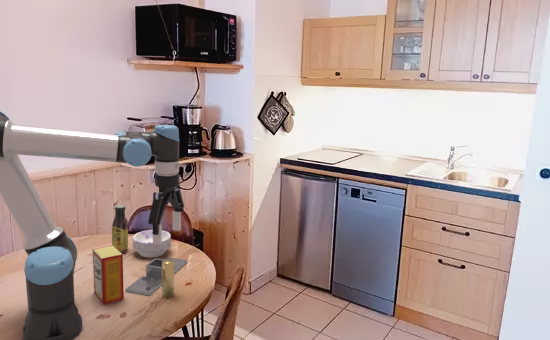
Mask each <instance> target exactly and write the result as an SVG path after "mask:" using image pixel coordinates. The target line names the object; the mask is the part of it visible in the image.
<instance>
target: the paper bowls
mask: <svg viewBox="0 0 550 340" xmlns="http://www.w3.org/2000/svg"><path fill="white" fill-rule="evenodd" d="M171 237H172V236H171V233H170V232H169V231H166V230H162V244H161V245H160V244H153V229H148V230H142V231H140V232H136V233H135V234H134V235H133V236H132V250H133V251H135V252H137V253H138V254H139V255H140V256H141V257H144V258H147V259H148V258H152V259H154V258H158V257H161V256H163V255H164V254H165V253H166V251H168V250H169V249H170V248H172V238H171Z"/></svg>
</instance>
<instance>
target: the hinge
mask: <svg viewBox="0 0 550 340" xmlns="http://www.w3.org/2000/svg"><path fill="white" fill-rule="evenodd" d="M167 259H170V260H174V275H176V273H177V272H178V271H180V270H179V269H182V268H183V267H184V266H185V265H187V263H188V261H189V260H187V259H184V258H183V259H182V258H177V257H176V258H175V257H171V256H168V257H164V258H163V259H162V258H158V257H155V258H152V259H151V261H150V262H147V264H146V265H145V275H142V276H141V277H139V278H138V279H137V280H135V281H134V282H133V283H132V284H130V285H129V286H128V287H126V288H125V292H126V293H129V294H130V293H131V294H136V295H141V296H147V297H149V296H150V297H151V296H152V294H153V293H155V292H156V291H157V290H158V289H159V288H160V287H162V261H163V260H167Z"/></svg>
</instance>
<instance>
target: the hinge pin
mask: <svg viewBox="0 0 550 340" xmlns="http://www.w3.org/2000/svg"><path fill="white" fill-rule="evenodd" d="M161 289H162V290H161V297H163V298H164V299H170V298H173V297H175V274H174V260H170V259H167V260H164V259H163V261H162V285H161Z"/></svg>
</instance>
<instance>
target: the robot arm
mask: <svg viewBox="0 0 550 340" xmlns="http://www.w3.org/2000/svg"><path fill="white" fill-rule="evenodd" d="M179 129H180V128H179V127H178V126H176V125H173V124H158V125H157V124H156V125H154V129H153V130H152V131H127V130H125V131H116V132H115V133H114V134H107V133H99V132H89V131H78V130H70V129H61V128H60V129H59V128H51V127H49V128H48V127H39V126H31V125H30V126H29V125H24V124H23V125H20V124H15V123H13V121H12V120H10V118H9V116H7V114H6V113H4V112H3V111H1V110H0V196H1V198H2V200H3V202H4V203H5V205H6V207H7V209H8V211H9V212H10V214H11V216H12V218H13V219H14V222H15V223H16V225H17V227H18V229H19V230H20V232H21V234H22V235H23V237H24V239H25V242H24V243H23V247H22V248H23V249H24V252H25V253H26V255H27V257H26V259H25V263H24V270H23V271H24V275H25V284H26V285H25V287H26V298H27V300H26V301H27V314H26V317H25V321H24V325H23V327H22V340H73V339H75V338H76V337H77V336H78V335H79V334H81V332H82V330H83V319H82V316H81V314H80V313H79V309H78V307H77V304H76V303H75V285H74V283H75V282H74V281H75V279H74V275H75V268H76V263H77V259H78V249H77V246H76V243H75V241H74V240H73V239H72V238H71V237H70V236H68V235H67V233H66V232H65V229H64V228H63V227H61V226H57V225H56V224H55V222H54V220H53V219H52V217H51V215H50V213H49V211H48V209H47V207H46V206H45V204H44V202H43V200H42V197H41V196H40V194H39V192H38V191H37V188H36V186H35V185H34V183H33V181H32V179H31V176H30V175H29V173H28V171H27V170H26V168H25V166H24V164H23V161H22V160H21V158H20V157H19V156H34V157H44V158H58V159H59V158H60V159H73V160H81V161H83V160H84V161H96V162H97V161H98V162H107V163H108V162H109V163H110V162H111V163H112V162H113V163H120V164H128V165H130V166H132V167H139V168H140V167H143V166H145V165H146V164H147V163H148V162H149V161H150V160H151V158H152V156H153V157H154V172H155V174H154V185H155V186H156V187H158V192H156V191H155V192H153V194H152V203H151V208H150V211H149V216H148V221H147V223H148V225H152V230H153V244H160V245H161V244H162V229H163V228H162V226H163V225H162V218H163V216H164V213H165V210H166V207H167V206H168V205H169V204H170V206H171V208H172V209H173V211H172V231H178V232H180V231H181V230H182V223H181V222H182V212H184V209H185V208H184V207H185V204H184V201H183V197H182V192H181V184H180V175H179V172H180V166H181V165H180V133H179V132H180V131H179Z"/></svg>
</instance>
